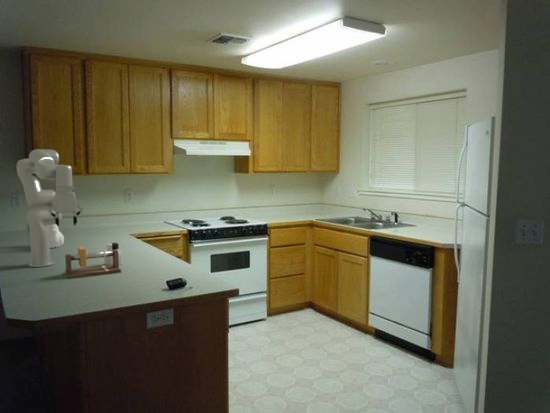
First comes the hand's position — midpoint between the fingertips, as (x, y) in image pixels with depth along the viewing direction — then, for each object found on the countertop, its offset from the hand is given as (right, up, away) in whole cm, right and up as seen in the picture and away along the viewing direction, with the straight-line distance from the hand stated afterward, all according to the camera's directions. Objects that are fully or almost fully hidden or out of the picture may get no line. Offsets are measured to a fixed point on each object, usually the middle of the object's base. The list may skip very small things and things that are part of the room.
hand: (66, 225), depth 231 cm
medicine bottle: (+14, -23, +27) cm, 39 cm away
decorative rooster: (-46, -19, +78) cm, 92 cm away
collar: (+6, -21, +5) cm, 22 cm away
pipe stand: (+10, -25, +8) cm, 28 cm away
